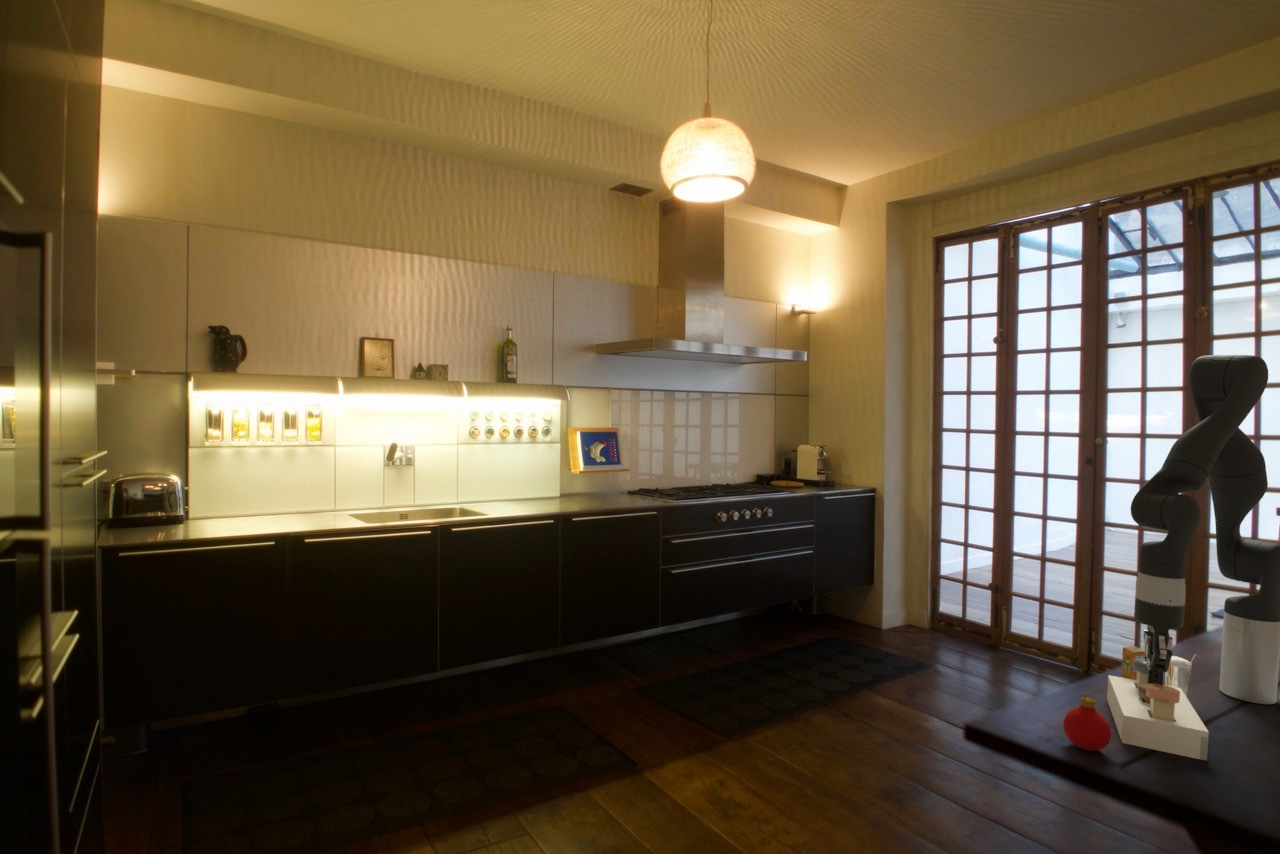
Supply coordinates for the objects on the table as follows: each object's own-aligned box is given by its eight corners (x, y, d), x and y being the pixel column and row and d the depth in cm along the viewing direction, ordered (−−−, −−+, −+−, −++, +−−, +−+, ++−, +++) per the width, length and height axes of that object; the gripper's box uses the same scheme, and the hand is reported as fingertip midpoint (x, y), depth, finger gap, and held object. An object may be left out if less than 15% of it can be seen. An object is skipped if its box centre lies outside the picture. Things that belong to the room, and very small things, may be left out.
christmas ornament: (1093, 739, 126) (1096, 684, 126) (1119, 759, 119) (1123, 701, 119) (1053, 738, 126) (1056, 683, 126) (1078, 757, 119) (1081, 699, 119)
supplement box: (1118, 692, 148) (1121, 646, 148) (1133, 692, 148) (1136, 646, 148) (1130, 699, 145) (1133, 651, 145) (1146, 699, 145) (1149, 651, 145)
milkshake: (1198, 707, 142) (1201, 658, 142) (1168, 704, 143) (1171, 655, 143) (1186, 698, 146) (1189, 651, 146) (1157, 695, 148) (1160, 648, 147)
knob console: (1106, 699, 145) (1108, 675, 144) (1178, 712, 139) (1180, 687, 139) (1122, 742, 125) (1123, 715, 125) (1206, 760, 120) (1208, 731, 119)
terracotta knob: (1142, 715, 129) (1144, 681, 128) (1174, 722, 126) (1176, 687, 126) (1146, 726, 124) (1148, 690, 124) (1180, 732, 122) (1182, 696, 122)
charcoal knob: (1129, 687, 142) (1131, 656, 142) (1158, 693, 140) (1160, 661, 139) (1133, 696, 138) (1135, 664, 137) (1163, 701, 135) (1165, 669, 135)
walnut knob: (1134, 715, 135) (1136, 682, 135) (1165, 721, 133) (1167, 688, 133) (1139, 725, 131) (1141, 691, 131) (1170, 731, 129) (1172, 697, 129)
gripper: (1193, 610, 124) (1187, 707, 124) (1177, 594, 135) (1171, 682, 136) (1141, 603, 127) (1135, 697, 128) (1130, 588, 139) (1124, 674, 139)
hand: (1154, 689), depth 132 cm, fingers closed
